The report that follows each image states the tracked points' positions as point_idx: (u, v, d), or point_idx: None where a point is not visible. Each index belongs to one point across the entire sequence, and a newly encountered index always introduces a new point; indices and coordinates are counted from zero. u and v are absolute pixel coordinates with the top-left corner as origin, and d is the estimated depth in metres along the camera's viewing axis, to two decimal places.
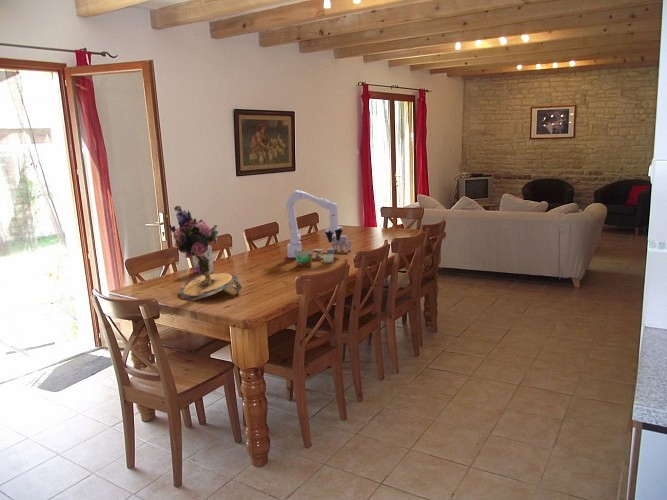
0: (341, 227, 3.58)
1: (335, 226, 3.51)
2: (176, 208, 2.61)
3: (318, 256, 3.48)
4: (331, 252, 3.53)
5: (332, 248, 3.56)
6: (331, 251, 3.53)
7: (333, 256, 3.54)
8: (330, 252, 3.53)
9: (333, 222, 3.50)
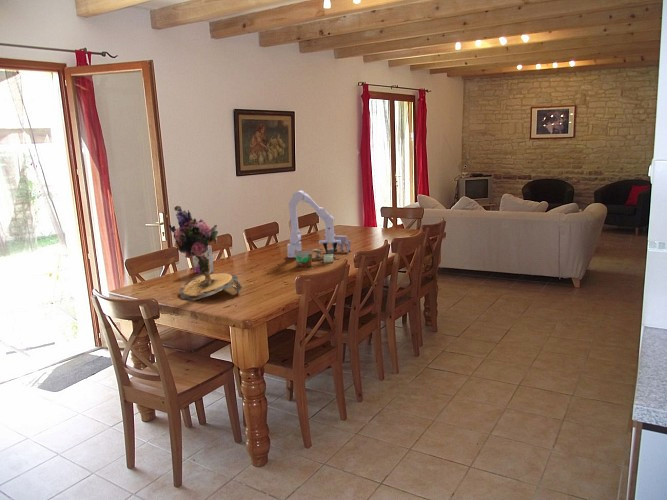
0: (339, 241, 3.53)
1: (328, 239, 3.51)
2: (176, 208, 2.61)
3: (318, 256, 3.48)
4: (331, 252, 3.53)
5: (332, 248, 3.56)
6: (331, 251, 3.53)
7: (333, 256, 3.54)
8: (330, 252, 3.53)
9: (326, 235, 3.51)
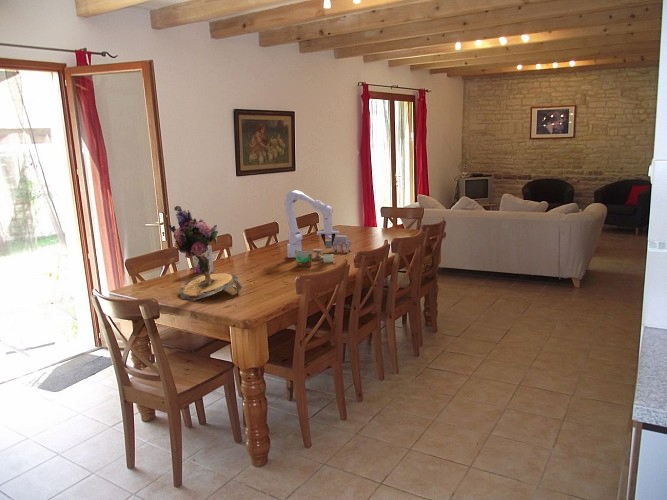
0: (338, 232, 3.46)
1: (326, 230, 3.44)
2: (176, 208, 2.61)
3: (318, 256, 3.48)
4: (329, 243, 3.47)
5: None
6: (329, 242, 3.47)
7: (331, 247, 3.47)
8: (328, 243, 3.47)
9: (324, 226, 3.44)
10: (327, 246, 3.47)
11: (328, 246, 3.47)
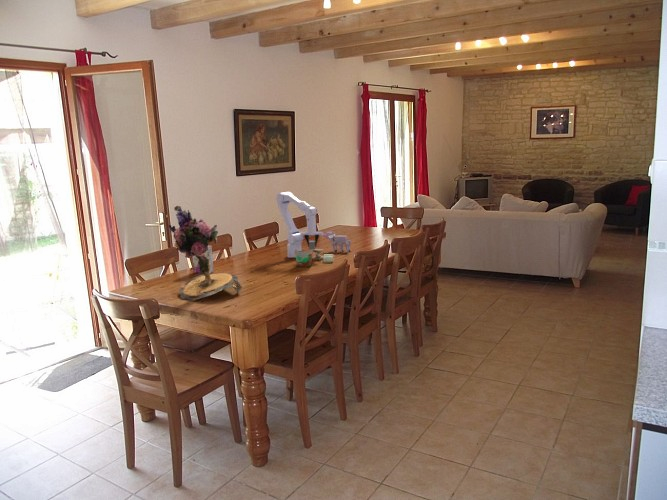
0: (321, 233, 3.45)
1: (309, 231, 3.43)
2: (176, 208, 2.61)
3: (318, 256, 3.48)
4: (313, 244, 3.46)
5: None
6: (313, 243, 3.45)
7: (315, 248, 3.46)
8: (312, 244, 3.46)
9: (307, 227, 3.43)
10: (310, 247, 3.46)
11: (311, 247, 3.46)
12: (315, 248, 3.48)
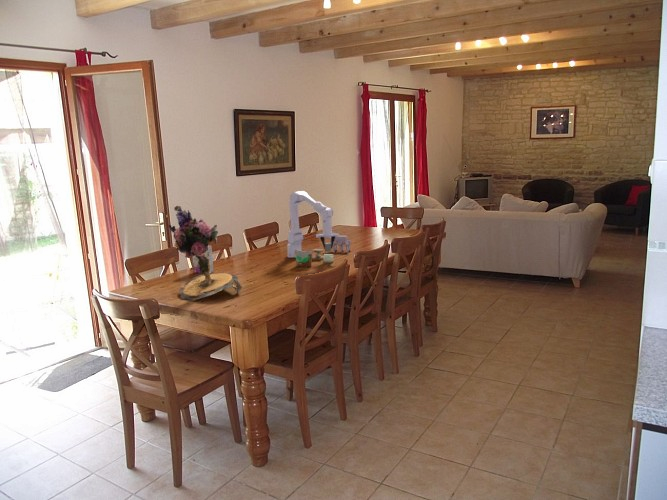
0: (337, 235, 3.38)
1: (325, 233, 3.36)
2: (176, 208, 2.61)
3: (318, 256, 3.48)
4: (329, 246, 3.38)
5: None
6: (329, 245, 3.38)
7: None
8: (328, 246, 3.38)
9: (323, 228, 3.36)
10: (326, 249, 3.39)
11: (327, 249, 3.39)
12: None
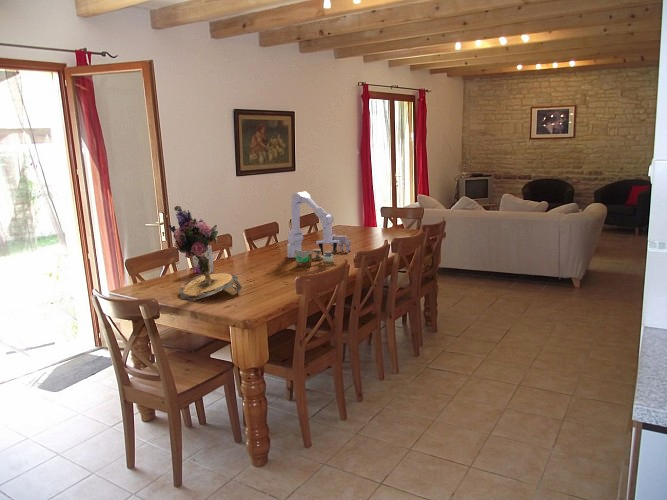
0: (338, 241, 3.38)
1: (325, 239, 3.37)
2: (176, 208, 2.61)
3: (318, 256, 3.48)
4: (329, 255, 3.39)
5: (330, 251, 3.42)
6: (329, 254, 3.39)
7: None
8: (328, 255, 3.39)
9: (324, 235, 3.37)
10: None
11: None
12: None
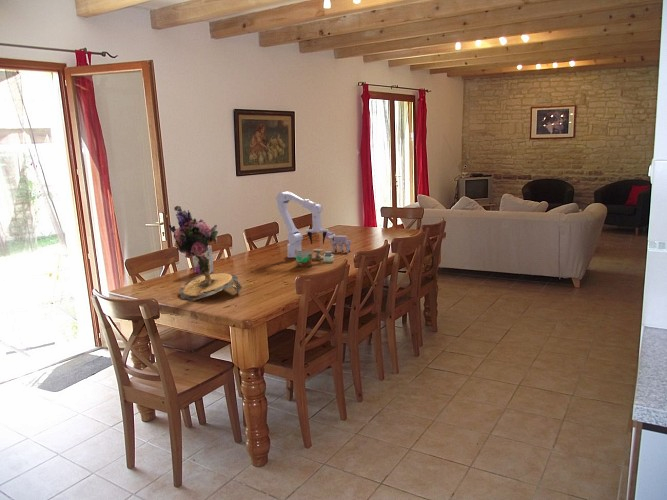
0: (327, 230, 3.47)
1: (315, 228, 3.45)
2: (176, 208, 2.61)
3: (318, 256, 3.48)
4: (329, 255, 3.39)
5: (330, 251, 3.42)
6: (329, 254, 3.39)
7: None
8: (328, 255, 3.39)
9: (313, 224, 3.45)
10: None
11: None
12: None
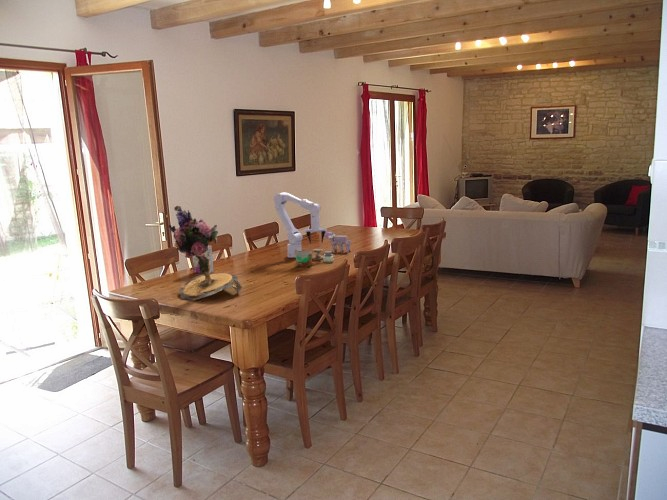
0: (325, 230, 3.48)
1: (313, 227, 3.46)
2: (176, 208, 2.61)
3: (318, 256, 3.48)
4: (329, 255, 3.39)
5: (330, 251, 3.42)
6: (329, 254, 3.39)
7: None
8: (328, 255, 3.39)
9: (312, 223, 3.47)
10: None
11: None
12: None
